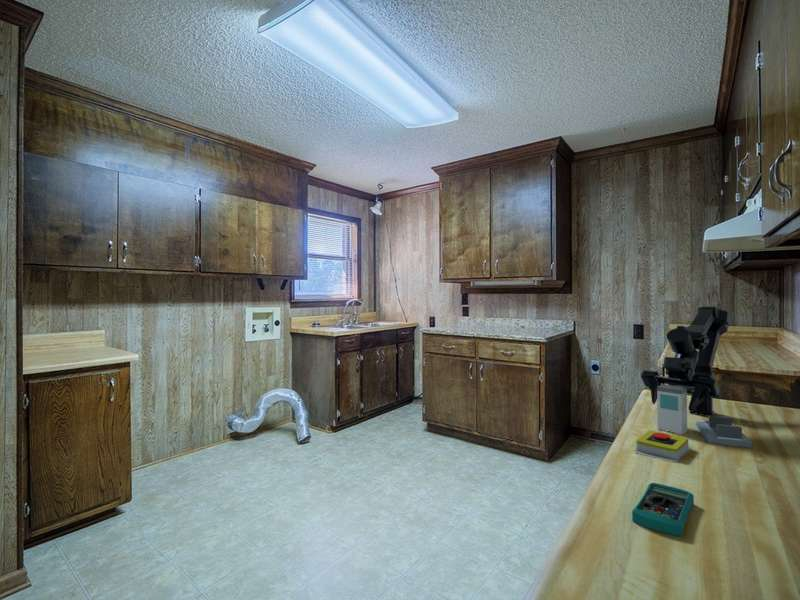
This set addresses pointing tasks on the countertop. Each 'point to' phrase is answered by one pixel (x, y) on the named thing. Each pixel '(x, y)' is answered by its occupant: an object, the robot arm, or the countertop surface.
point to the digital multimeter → (663, 509)
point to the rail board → (713, 439)
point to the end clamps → (725, 427)
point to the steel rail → (716, 432)
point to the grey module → (672, 408)
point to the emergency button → (662, 446)
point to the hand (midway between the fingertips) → (670, 406)
